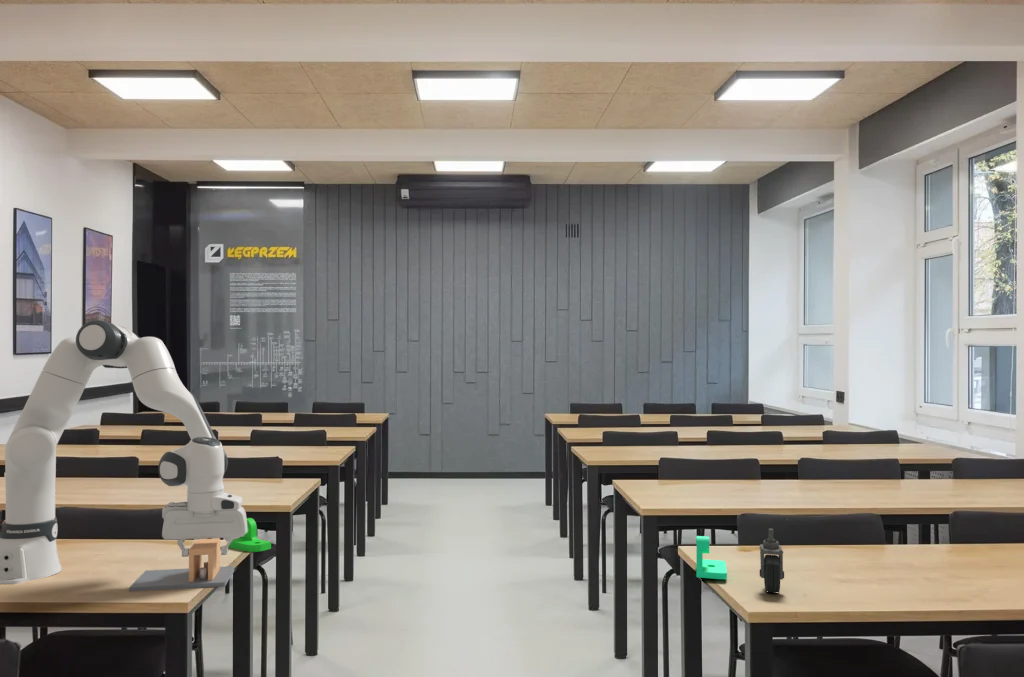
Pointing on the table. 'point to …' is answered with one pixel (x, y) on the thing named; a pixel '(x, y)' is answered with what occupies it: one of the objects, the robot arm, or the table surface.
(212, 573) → the arch block
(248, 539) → the mechanical part
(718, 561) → the camera mount
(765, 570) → the caster wheel
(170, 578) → the plate
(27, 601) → the table surface
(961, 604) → the table surface
